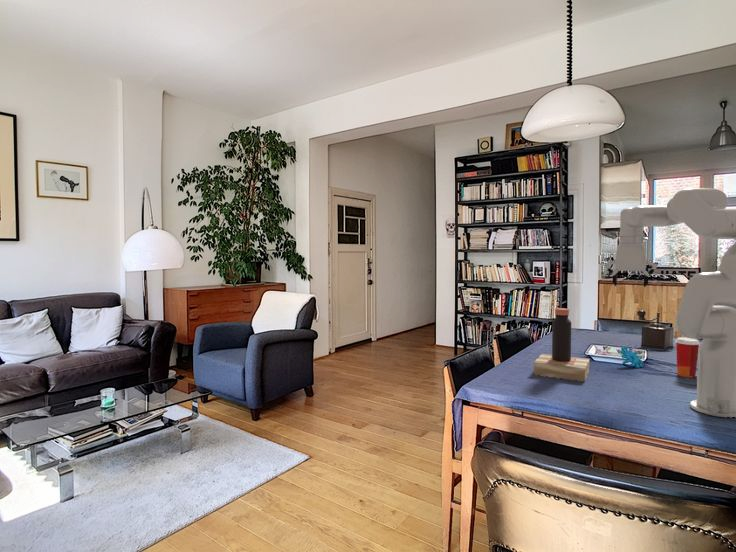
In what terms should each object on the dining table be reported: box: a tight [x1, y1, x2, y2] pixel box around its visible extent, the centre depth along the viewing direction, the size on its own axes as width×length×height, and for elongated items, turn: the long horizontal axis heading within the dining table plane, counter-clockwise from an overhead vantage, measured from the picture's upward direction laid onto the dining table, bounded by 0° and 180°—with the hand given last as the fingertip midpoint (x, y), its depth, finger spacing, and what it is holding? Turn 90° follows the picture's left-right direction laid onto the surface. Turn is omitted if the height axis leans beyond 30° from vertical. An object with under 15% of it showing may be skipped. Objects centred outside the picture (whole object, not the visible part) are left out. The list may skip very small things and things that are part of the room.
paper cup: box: [674, 337, 701, 378], centre depth 171 cm, size 8×8×14 cm
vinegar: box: [551, 307, 572, 361], centre depth 175 cm, size 7×7×20 cm
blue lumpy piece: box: [619, 346, 644, 369], centre depth 187 cm, size 11×6×10 cm
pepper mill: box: [636, 309, 674, 349], centre depth 221 cm, size 16×11×18 cm
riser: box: [533, 353, 591, 383], centre depth 176 cm, size 16×18×5 cm
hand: (629, 286), depth 171 cm, fingers open, 9 cm apart
